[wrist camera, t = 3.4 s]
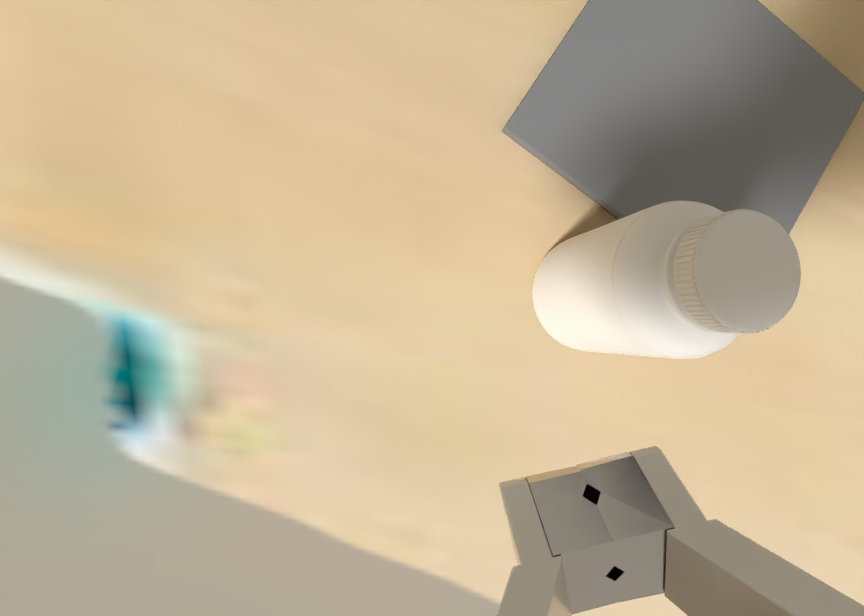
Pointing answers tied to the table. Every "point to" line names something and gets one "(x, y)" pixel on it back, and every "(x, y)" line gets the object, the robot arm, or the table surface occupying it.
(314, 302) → the table surface
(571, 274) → the pill bottle
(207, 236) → the table surface
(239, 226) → the table surface
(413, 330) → the table surface
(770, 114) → the mat
